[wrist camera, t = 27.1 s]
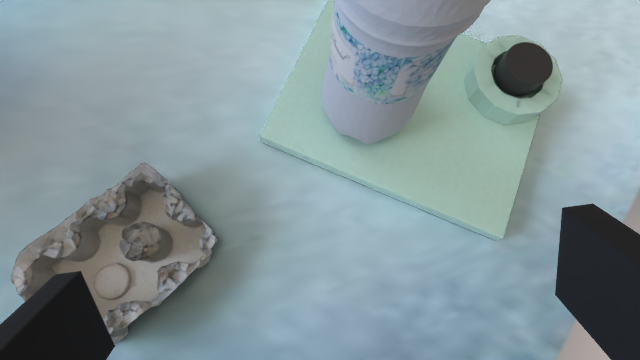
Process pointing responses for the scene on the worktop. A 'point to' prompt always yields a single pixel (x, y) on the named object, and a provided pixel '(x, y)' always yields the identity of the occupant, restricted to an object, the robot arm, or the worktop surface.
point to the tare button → (523, 69)
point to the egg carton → (122, 248)
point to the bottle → (387, 60)
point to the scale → (424, 133)
